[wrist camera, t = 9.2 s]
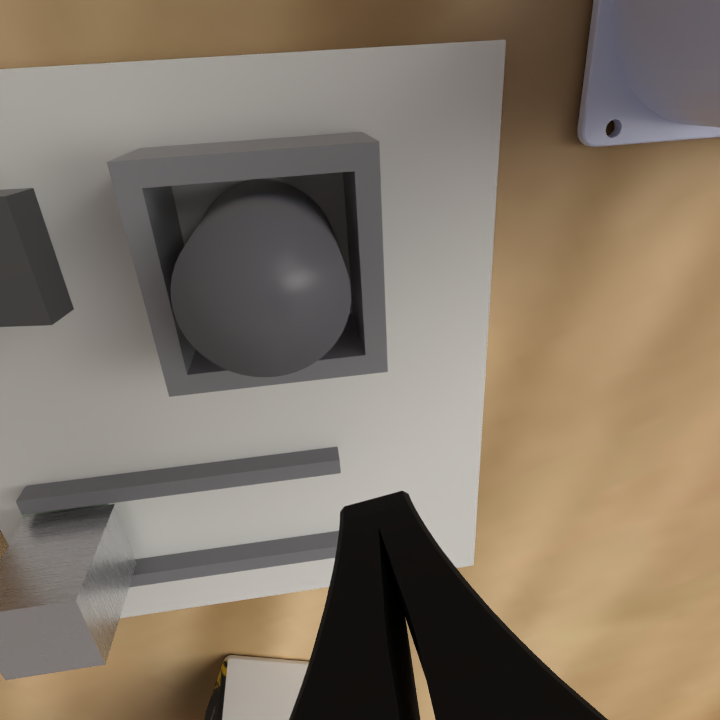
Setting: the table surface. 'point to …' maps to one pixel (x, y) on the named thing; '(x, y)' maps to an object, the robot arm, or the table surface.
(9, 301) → the rocker
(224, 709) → the medicine bottle
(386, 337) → the panel
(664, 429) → the table surface
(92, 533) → the slider knob
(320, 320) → the push button
